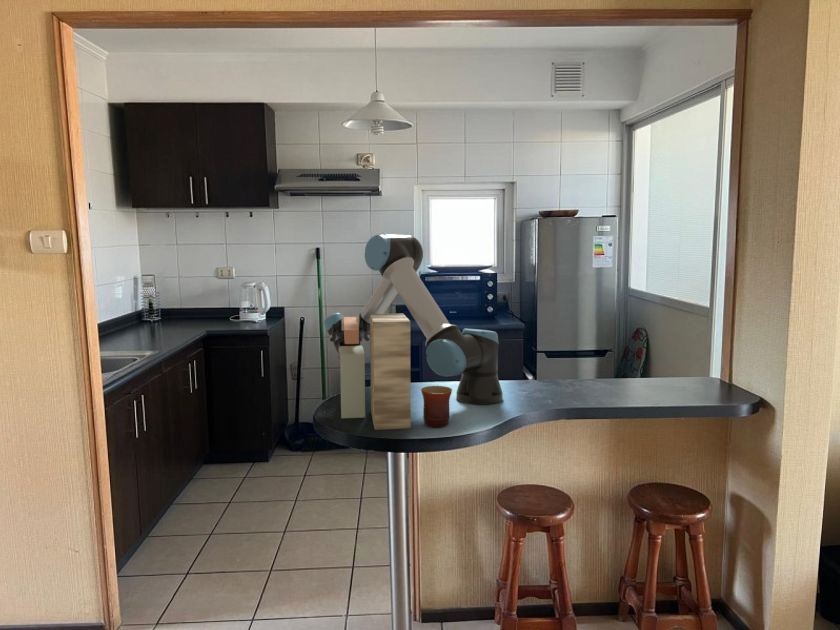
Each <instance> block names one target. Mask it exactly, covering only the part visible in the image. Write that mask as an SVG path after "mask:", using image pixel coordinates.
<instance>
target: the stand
mask: <svg viewBox="0 0 840 630" xmlns="http://www.w3.org/2000/svg"><path fill="white" fill-rule="evenodd" d="M369 344H370V345H369V346H370V348H369V349H370V351H369V353H370V357H369V358H370V362H369V363H370V364H369V365H370V413H371V414H370V415H371V418H372V424H373V428H374V429H373V430H374V431H375V430H378V431H379V430H397V429H398V430H399V429H400V430H401V429H403V430H404V429H411V414H412V413H411V412H412V411H411V320H410V319H409V318H408V317H407V316H406V315H405V314H404V313H384V314H370V335H369Z"/></svg>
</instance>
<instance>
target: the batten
mask: <svg viewBox="0 0 840 630" xmlns="http://www.w3.org/2000/svg"><path fill="white" fill-rule="evenodd" d="M356 317H357V316H344V340H345V344H359V329H358V324H357V320H356Z"/></svg>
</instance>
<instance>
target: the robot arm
mask: <svg viewBox="0 0 840 630" xmlns="http://www.w3.org/2000/svg"><path fill="white" fill-rule="evenodd" d="M423 249H424V248H423V247H422V244H421V242H420V241H419V240H418V239H417V238H416V237H415V236H413V235H411V234H389V233H388V234H387V233H381V234H375V235H373V236H372V237H370V238H369V239H368V241H367V242H366V245H365V247H364V260H365V263H366V266H367V267H368V268H369V269H371V270H373V271H377V272H379V273H380V275H381V277H382V280H381V281H380V282H379V284H378V285H377V287H376V289H375V290H374V292H373V293H372V294H371V296H370V298H369V299H368V301H367V302H366V304H365V306H363V309H362V310H361V311H360V313H359V314H356V316H355V317H356V320H357V324H358V329H359V344H345V340H344V317H345V315H344V314H342V313H340V312H335V313H331V314H330V315H328V316H327V317H326V318H325V319H324V321H323V324H324V326H325V329H326V332H327V333H328V336H329V341H330V342H332V344H333V346H334V348H335V350H336V352H337V355H338V359H339V361H340V346H361V342H362V341H366V342H368V341H369V342H370V314H385V313H386V311H387V310H388V308H390V305H391V304H392V302H394V300H395V298H396V297H397V295H399V297H400V298H401V300H402V301H403V304H405V306H406V307H407V309H408V311H409V312H410V314H411V316H412V317H413V319H414V320H415V322H416V324H417V325H418V327H419V329H420V330H421V331H422V333H423V335H424V336H425V338H426V340H425V343H424V344H425V347H426V351H425V354H426V358H425V359H426V362H427V364H428V366H429V368H430V369H431V370H432V371H433V372H434V373H435V374H437V375H438V376H441V377H455V376H459V375H461V377H460V381H459V383H458V386H457V389H456V396H455V397H456V399H457V401H459V402H461V403H465V404H469V405H493V404H497V403H500V402H502V401H503V390H502V387H501V383H500V380H499V377H498V367H499V366H498V365H499V361H498V360H499V345H500V343H499V336H498V333H497V332H496V331H493V330H488V329H477V328H463V329H462V332H461V330H460V329H459V327H458V326H457V325H456V324H451V323H450V322H449V320H448V319H447V317H446V316H445V314H444V313H443V311H442V309H441V308H440V306H439V305H438V304H437V302H436V301H435V299H434V297H433V296H432V294H431V293H430V291H429V290H428V288H427V287H426V285H425V284H424V282H423V281H422V278H420V276H419V274H418V273H417V272H418V270H419V268H420V267H421V265H422V262H423V258H424V250H423Z"/></svg>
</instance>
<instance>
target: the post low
mask: <svg viewBox="0 0 840 630" xmlns="http://www.w3.org/2000/svg"><path fill="white" fill-rule="evenodd" d="M365 361H366V360H365V351H364V346H363V345H360V346H340V360H339V364H340V368H339V369H340V371H339V372H340V409H341V410H340V418H341V419H359V418H360V419H361V418H366V382H365V381H366V379H365V377H366V375H365V373H366V372H365V369H366V368H365V367H366V366H365V365H366V364H365Z"/></svg>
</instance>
